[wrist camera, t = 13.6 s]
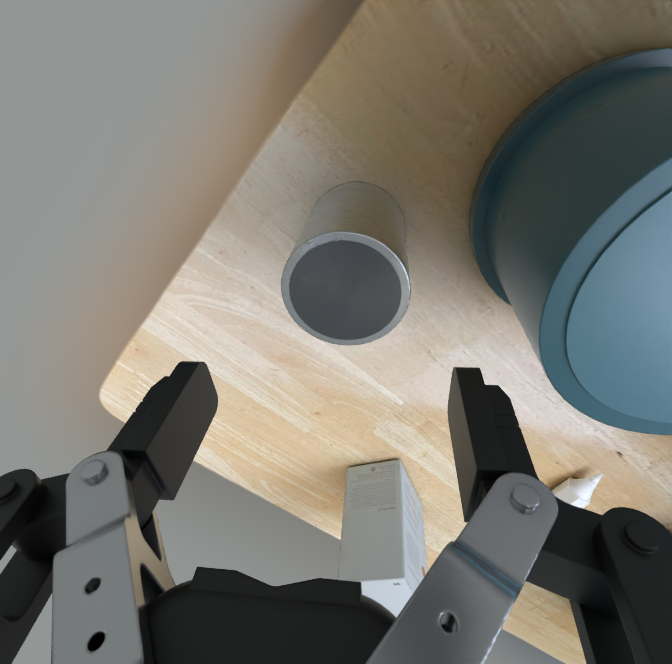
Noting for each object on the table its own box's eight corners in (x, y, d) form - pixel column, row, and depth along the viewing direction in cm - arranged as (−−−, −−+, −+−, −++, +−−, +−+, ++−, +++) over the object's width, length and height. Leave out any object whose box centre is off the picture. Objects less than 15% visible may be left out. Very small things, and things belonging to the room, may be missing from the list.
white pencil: (597, 457, 35) (488, 535, 44) (585, 460, 34) (476, 539, 42) (621, 484, 33) (503, 559, 42) (609, 488, 32) (491, 565, 41)
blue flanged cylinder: (489, 61, 19) (583, 63, 10) (834, 33, 17) (1349, 4, 8) (456, 313, 27) (491, 441, 18) (685, 313, 25) (852, 456, 16)
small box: (346, 465, 38) (334, 582, 30) (401, 457, 36) (405, 578, 28) (372, 509, 42) (368, 623, 34) (423, 503, 41) (432, 622, 32)
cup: (303, 184, 23) (270, 233, 16) (406, 179, 22) (413, 229, 16) (314, 274, 26) (290, 345, 20) (403, 273, 26) (408, 347, 19)
